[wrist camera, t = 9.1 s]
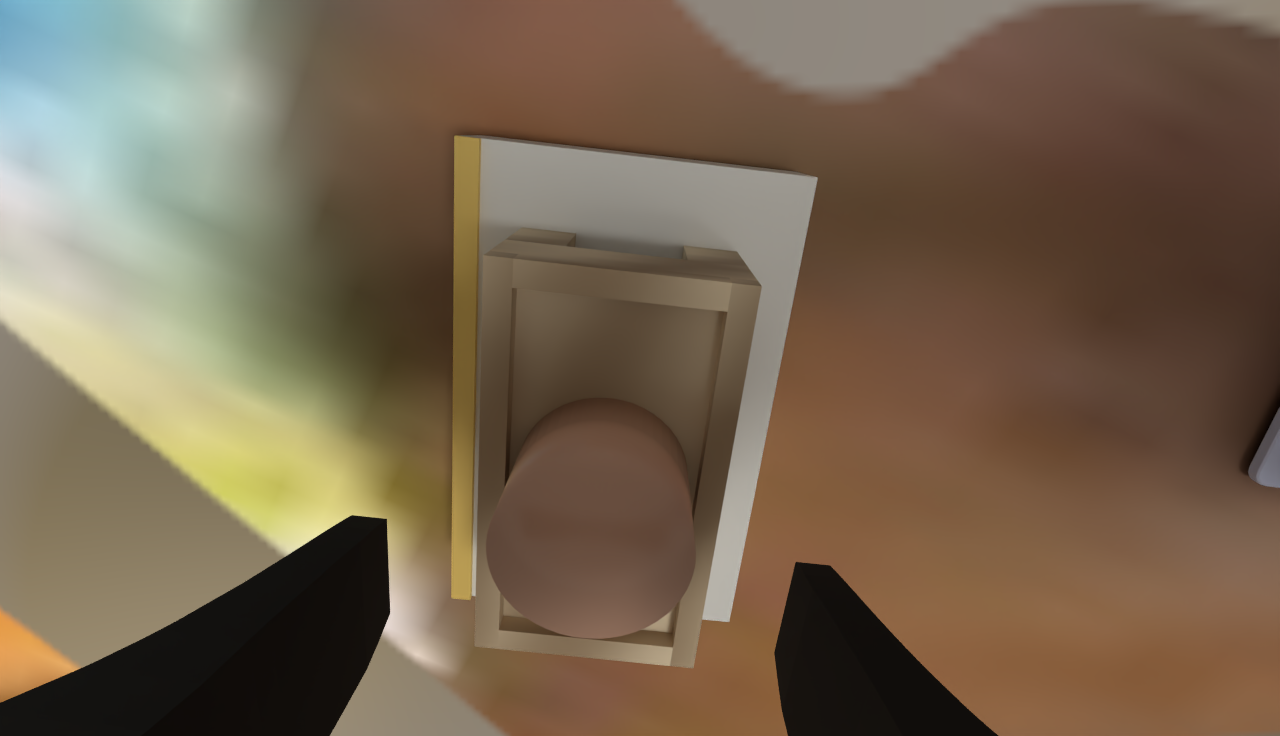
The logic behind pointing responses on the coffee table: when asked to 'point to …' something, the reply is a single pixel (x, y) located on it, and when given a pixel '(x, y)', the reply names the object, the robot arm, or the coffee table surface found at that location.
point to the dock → (637, 224)
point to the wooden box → (611, 394)
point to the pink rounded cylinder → (595, 522)
